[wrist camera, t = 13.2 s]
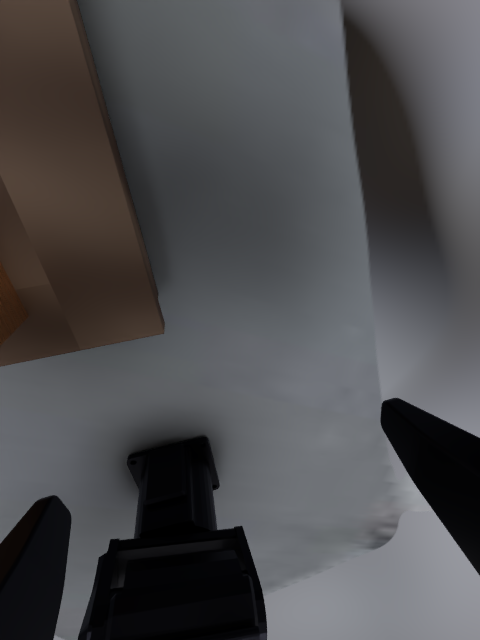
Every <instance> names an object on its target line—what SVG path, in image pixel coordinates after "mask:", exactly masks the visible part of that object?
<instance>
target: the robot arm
mask: <svg viewBox="0 0 480 640" xmlns="http://www.w3.org/2000/svg"><path fill="white" fill-rule="evenodd" d="M380 421H381V426H382V429H383V431H384V432H385V434H386V436H387V438H388V439H389V441H390V442H391V444H392V446H393V448H394V450H395V451H396V453H397V455H398V457H399V458H400V460H401V462H402V463H403V465H404V467H405V469H406V471H407V472H408V474H409V476H410V477H411V479H412V480H413V482H414V483H415V485H416V486H417V488H418V489H419V491H420V492H421V494H422V495H423V496H424V498H425V499H426V501H427V502H428V503H429V505H430V506H431V508H432V509H433V510H434V512H435V513H436V515H437V516H438V517H439V519H440V520H441V522H442V523H443V525H444V526H445V527H446V529H447V530H448V532H449V533H450V534H451V536H452V537H453V539H454V540H455V541H456V543H457V544H458V545H459V547H460V548H461V550H462V551H463V552H464V554H465V555H466V557H467V558H468V560H469V561H470V562H471V564H472V565H473V567H474V568H475V569H476V571H477V572H478V573H479V575H480V438H479V437H477V436H475V435H473V434H471V433H468V432H467V431H464V430H462V429H460V428H458V427H456V426H454V425H452V424H450V423H448V422H446V421H444V420H442V419H440V418H438V417H436V416H434V415H432V414H430V413H428V412H426V411H424V410H421V409H420V408H417V407H415V406H414V405H411V404H409V403H407V402H405V401H403V400H401V399H399V398H392V399H389V400H385V401H383V403H382V407H381V420H380ZM202 443H203V444H202ZM127 465H128V467H129V469H130V472H131V474H132V476H133V478H134V480H135V482H136V484H137V486H138V488H139V497H138V506H137V516H136V525H135V534H134V539H126V540H119V539H111V540H110V544H109V548H108V551H107V553H105V554H104V555H102V556H101V557H99V560H98V565H97V571H96V576H95V581H94V585H93V590H92V593H91V597H90V600H89V603H88V607H87V610H86V613H85V616H84V620H83V623H82V626H81V629H80V633H79V636H78V640H267V621H266V612H265V604H264V598H263V593H262V588H261V585H260V581H259V578H258V575H257V571H256V568H255V565H254V562H253V559H252V556H251V552H250V549H249V546H248V543H247V540H246V536H245V533H244V530H243V527H242V526H237V527H234V528H232V529H223V530H217V524H216V515H215V506H214V498H213V490H216V489H218V488H219V479H218V476H217V472H216V468H215V464H214V460H213V456H212V452H211V448H210V444H209V440H208V438H206V437H201V438H196V439H192V440H188V441H184V442H180V443H176V444H172V445H168V446H163V447H159V448H155V449H151V450H147V451H143V452H139V453H135V454H131V455H129V456H128V458H127ZM70 529H71V514H70V512H69V510H68V509H67V508H66V506H65V505H64V504H63V503H62V501H61V500H60V499H59V497H57V496H55V495H52V496H48V497H45V498H41V499H39V500H37V501H36V502H35V503H34V504H33V505H32V507H31V508H30V509H29V510H28V511H27V513H26V514H25V515H24V516H23V517H22V518H21V520H20V521H19V522H18V523H17V524H16V526H15V527H14V528H13V529H12V530H11V532H10V533H9V534H8V535H7V536H6V538H5V539H4V540H3V541H2V542H1V544H0V640H53V638H54V633H55V629H56V624H57V619H58V614H59V609H60V605H61V599H62V594H63V588H64V581H65V573H66V564H67V555H68V547H69V538H70Z"/></svg>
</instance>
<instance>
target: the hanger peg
mask: <svg viewBox="0 0 480 640" xmlns="http://www.w3.org/2000/svg"><path fill="white" fill-rule="evenodd" d="M28 317H29V316H28V314H27V312H26V310H25V308H24V306H23V304H22V302H21V300H20V298H19V296H18V294H17V293H16V291H15V289H14V287H13V285H12V283H11V281H10V279H9V277H8V275H7V273H6V271H5V269H4V268H3V266H2V264H1V262H0V346H1V345H2V344H3V343H4V342H5V341H6V340H7V339H8V338H9V337H10V335H11V334H12V333H13V332H14V331H15V330H16V329H17V328H18V327H19V326H20V325H21V324H22V323H23V322H24V321H25V320H26V319H27V318H28Z"/></svg>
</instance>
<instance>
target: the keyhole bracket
mask: <svg viewBox="0 0 480 640" xmlns="http://www.w3.org/2000/svg"><path fill="white" fill-rule="evenodd" d="M0 262H1V264H2V266H3V268H4V269H5V271H6V273H7V275H8V277H9V279H10V281H11V283H12V285H13V287H14V289H15V291H16V293H17V294H18V296H19V298H20V300H21V302H22V304H23V306H24V308H25V310H26V312H27V314H28V316H29V317H28V318H27V319H26V320H25V321H24V322H23V323H22V324H21V325H20V326H19V327H18V328H17V329H16V330H15V331H14V332H13V333H12V334H11V335H10V337H9V338H8V339H7V340H6V341H5V342H4V343H3V344H2V345H1V346H0V366H5V365H10V364H15V363H20V362H25V361H30V360H35V359H40V358H45V357H50V356H55V355H60V354H65V353H70V352H75V351H80V350H85V349H90V348H95V347H100V346H105V345H109V344H114V343H119V342H124V341H129V340H134V339H139V338H144V337H149V336H154V335H159V334H164V327H165V322H164V319H163V315H162V312H161V308H160V305H159V301H158V291H157V288H156V284H155V280H154V277H153V273H152V270H151V266H150V262H149V259H148V255H147V251H146V248H145V244H144V241H143V237H142V233H141V230H140V226H139V223H138V219H137V215H136V212H135V208H134V205H133V201H132V197H131V194H130V190H129V187H128V183H127V179H126V176H125V172H124V169H123V165H122V161H121V158H120V154H119V150H118V147H117V143H116V140H115V136H114V132H113V129H112V125H111V122H110V118H109V114H108V111H107V107H106V104H105V100H104V96H103V93H102V89H101V86H100V82H99V78H98V75H97V71H96V68H95V64H94V60H93V57H92V53H91V50H90V46H89V42H88V39H87V35H86V31H85V28H84V24H83V21H82V17H81V13H80V10H79V6H78V3H77V0H0Z"/></svg>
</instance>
